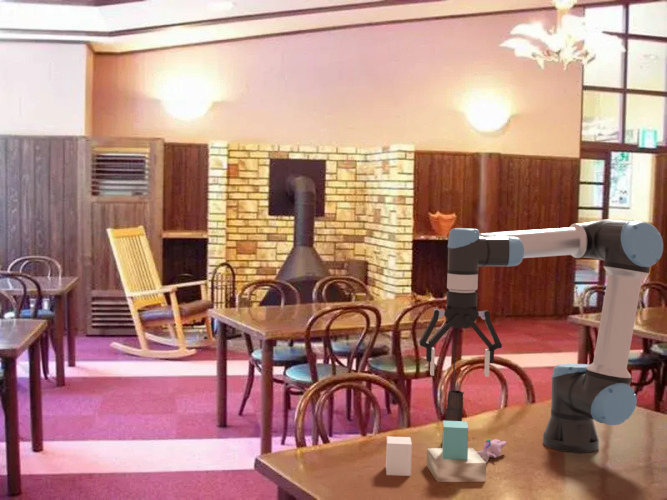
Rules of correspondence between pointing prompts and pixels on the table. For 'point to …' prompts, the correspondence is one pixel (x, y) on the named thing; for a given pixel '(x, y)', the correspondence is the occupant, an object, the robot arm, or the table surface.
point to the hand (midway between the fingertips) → (459, 375)
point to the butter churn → (454, 400)
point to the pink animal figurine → (491, 449)
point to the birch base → (456, 467)
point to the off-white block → (398, 456)
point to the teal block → (455, 440)
